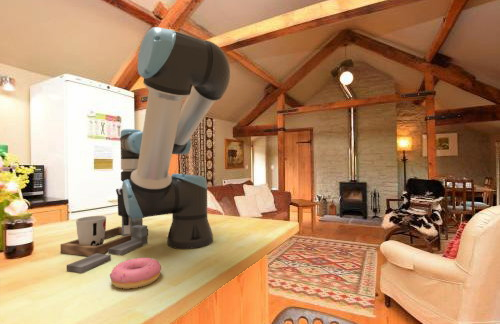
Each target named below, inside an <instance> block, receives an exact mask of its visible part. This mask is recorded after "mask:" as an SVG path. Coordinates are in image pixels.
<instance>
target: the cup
mask: <svg viewBox="0 0 500 324" xmlns="http://www.w3.org/2000/svg"><path fill="white" fill-rule="evenodd" d="M75 223H76V226H75V227H76V234H77V239H78V240H79V244H80V245H90V246H98V245H101V244H104V241H105V239H104V236H105V231H106V228H107V227H106V226H107V216H106V215H92V216H84V217H79V218H77V219H76V220H75Z"/></svg>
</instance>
